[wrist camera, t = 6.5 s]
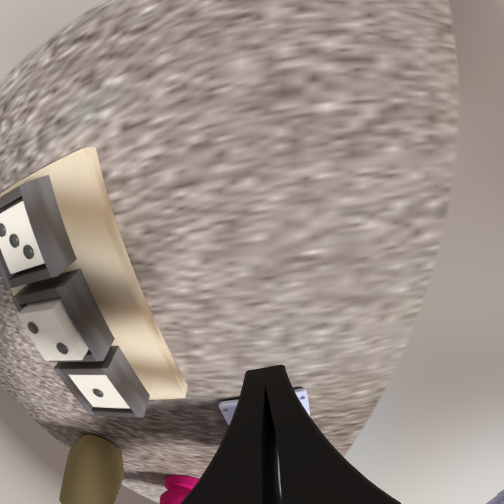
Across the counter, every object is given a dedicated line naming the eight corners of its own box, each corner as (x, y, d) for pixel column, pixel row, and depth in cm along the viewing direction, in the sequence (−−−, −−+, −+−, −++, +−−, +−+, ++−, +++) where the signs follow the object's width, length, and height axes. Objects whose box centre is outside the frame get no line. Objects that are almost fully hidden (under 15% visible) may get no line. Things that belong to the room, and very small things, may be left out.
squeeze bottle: (66, 428, 27) (31, 526, 10) (102, 428, 26) (68, 546, 9) (102, 457, 30) (80, 548, 13) (140, 458, 29) (122, 564, 12)
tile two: (93, 341, 17) (81, 361, 15) (56, 344, 17) (44, 361, 15) (67, 292, 15) (51, 310, 13) (31, 299, 15) (16, 315, 13)
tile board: (187, 385, 22) (181, 421, 19) (83, 387, 23) (70, 415, 19) (95, 146, 15) (59, 151, 11) (-9, 202, 15) (-40, 217, 12)
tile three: (60, 250, 15) (43, 264, 13) (26, 262, 16) (9, 275, 14) (41, 193, 14) (21, 201, 12) (8, 211, 14) (-11, 220, 12)
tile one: (135, 390, 20) (129, 409, 18) (99, 390, 20) (92, 407, 18) (113, 357, 19) (104, 376, 17) (77, 358, 19) (67, 375, 17)
